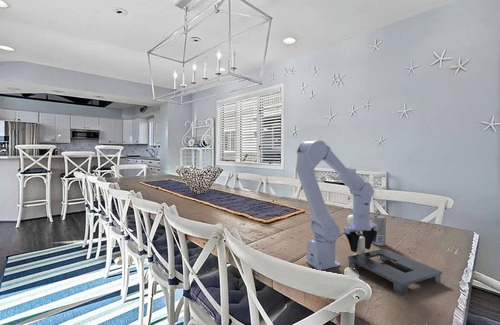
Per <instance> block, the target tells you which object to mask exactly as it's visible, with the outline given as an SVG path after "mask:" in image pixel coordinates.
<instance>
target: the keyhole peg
mask: <svg viewBox="0 0 500 325" xmlns="http://www.w3.org/2000/svg"><path fill="white" fill-rule="evenodd" d="M362 253H366V248H365V237H363V235H362V236H361V235H360V237H359V240H358V245H357V252H353V254H352V256H353V255H358V254H362Z"/></svg>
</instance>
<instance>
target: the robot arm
mask: <svg viewBox="0 0 500 325" xmlns="http://www.w3.org/2000/svg"><path fill="white" fill-rule="evenodd" d="M295 152H296V155H297V158H296V166H295V167H296V168H295V170H296V173H297V176H298V178H299V182H300V184H301V188H302V189H303V192H304V195H305V198H306V201H307V204H308V207H309V210H310V212H311V216H310V217H309V218H310V228H311V230H312V231H311V232H313V234H314V235H313V237H314V238H313V239H311V240H309V241H308V242H307V245H306V259H305V262H306V263H308V265H310V266H312V267H313V268H315V269H317V270H318V271H323V270H328V269H331V268H336V267H340V266H341V263H339V262H338V261H336V242H337V240H339V237H340V235H341V229H340V227H339V225H338V224H337V223H336V222H335V219H334V218H333V216H332V215H331V214H330V213H329V211H328V209H327V206H326V202H325V200H324V198H323V194H322V191H321V188H320V186H319V182H318V179H317V176H316V174H315V168H316V167H317V166H318V164H320V163H321V162H324V163H326V164H327V165H328V166H329V167H330V168H331V169H332V170H334V171H335V172H336V173H337V174H338V179H339V180H340V181H341V182H342V183H343V185H345V186H346V187H348V189H349V193H350V194H351V195H352V196H353V198H352V199H353V201H352V215H353V224H352V225H351V224H349V225H348V226H344V227H343V233H344V235H345V237H346V239H347V241H348V244H349V246H350V247H349V248H350V251H351V252H353V253H356V252H357V245H358V240H359V237H360V236H361V235H360V234H357V233H358V232H360V231H362V233H363V234H362V237H365V250H368V251H369V250H371V247H372V245H373V244H372V241H373V239H374V237H375V236H376V234H377V231H375V230H374V229H377V224H375V223H369V222H370V220H371V219H370V218H371V217H370V216H371V213H370V212H371V210H370V209H371V202H372V197H373V196H374V194H375V190H374V188H373V185H372V184H371V183H369V182H367V181H365V178H364V177H361V175H360V174H358V173H357V172H356V171H357V170H356V169H355V168H352V167H347V166H345V164H344V163H343V162H342V161H341V160H340V159H339V157H338V156H337V155H336V154H335V153H334V151H332V149H331V147H330V146H329V145H328V144H327V143H326V142H325V141H323V140H320V139H319V140H305V141H302V142H300V143H299V145H298V147H297V149H296V151H295Z"/></svg>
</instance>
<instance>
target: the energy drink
mask: <svg viewBox="0 0 500 325" xmlns="http://www.w3.org/2000/svg"><path fill="white" fill-rule="evenodd" d="M371 221H372V223H375V224H377V229H374V230H375V231H377V234H376V236H375V237H374V239H373V241H372V244H371V245H374V246H379V247H384V246H385V245H386V239H387V237H386V236H387V234H386V233H387V232H386V230H387V219H386V216H385V215H381V214H374V215H373V214H372V218H371Z"/></svg>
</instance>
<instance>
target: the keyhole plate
mask: <svg viewBox="0 0 500 325" xmlns="http://www.w3.org/2000/svg"><path fill="white" fill-rule="evenodd" d="M374 257H375V258H376V257H379V260H380V261H383V262H389V261H391V262H393V263H394V265H396V266H398V267H400V268H403V269H404V270H407V271H408V272H403V271H402V270H399V269H397V268H395V267H393V266H391V265H389V264H388V263H387V264H382V263H380V262H377V261H375V260H373V259H372V258H374ZM347 259H348V267H350V268H351V267H352V268H351V269H353V268H355V269H354V270H357V269H360V268H361V267H363V268H364V269H367V270H369V271H371V272H372V273H375V274H376V275H378V276H380V277H381V278H384V279H386V280H388V281H389V282H392V283H393V288H392V290H393V292H395V293H396V294H398V295H400V296H404V295H406V294H408V292H409V291H408V289H409V287H408V286H409V285H410V286H411V285H412V284H416V283H420V282H422V281H425V280H426V281H427V282H429V283H432V284H434V285H437V284H440V283H441V278H442V276H441V275H443V271H442V270H439V269H436V268H435V267H434V268H433V267H432V266H429V265H426V264H424V263H422V262H419V261H416V260H414V259H411V258H409V257H407V256H404V255H402V254H399V253H396V252H394V251H392V250H389V249H386V248H382V249H377V250H376V249H375V250H373V251H367V252H365V253H362V254H358V255H353V254H352V255H349V256H347Z"/></svg>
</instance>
